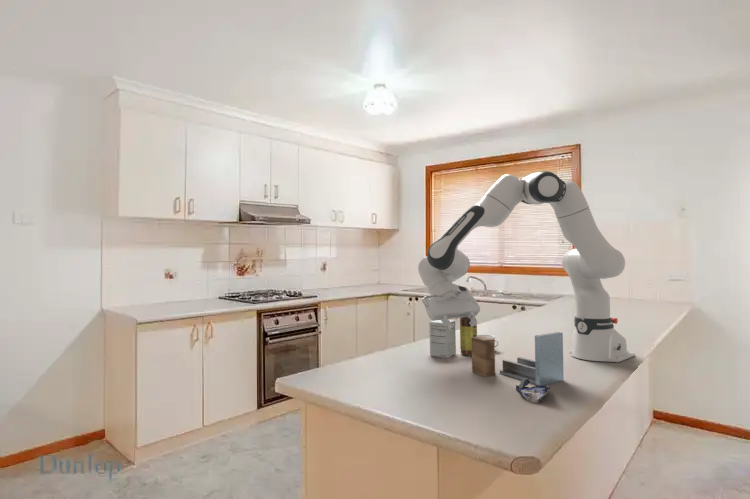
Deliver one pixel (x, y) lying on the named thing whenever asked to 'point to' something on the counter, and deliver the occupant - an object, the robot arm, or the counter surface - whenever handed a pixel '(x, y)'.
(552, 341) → the track
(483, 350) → the tan wooden block
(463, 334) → the sauce bottle
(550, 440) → the counter surface
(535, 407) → the counter surface
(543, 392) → the snack package
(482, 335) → the teacup
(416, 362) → the counter surface
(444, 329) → the supplement box
